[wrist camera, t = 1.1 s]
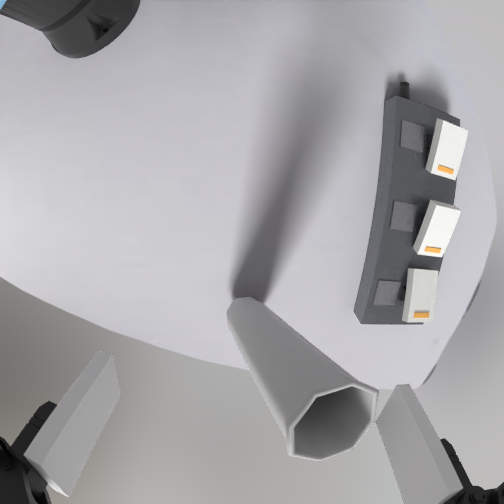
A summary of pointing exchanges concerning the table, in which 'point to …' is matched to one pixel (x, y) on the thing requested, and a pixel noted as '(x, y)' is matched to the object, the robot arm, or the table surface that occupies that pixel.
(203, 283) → the table surface
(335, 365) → the tube
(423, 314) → the block
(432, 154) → the block
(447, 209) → the block
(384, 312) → the power strip
